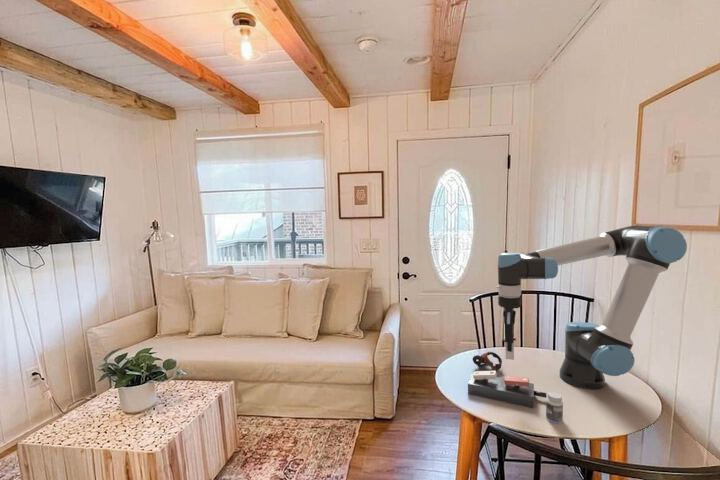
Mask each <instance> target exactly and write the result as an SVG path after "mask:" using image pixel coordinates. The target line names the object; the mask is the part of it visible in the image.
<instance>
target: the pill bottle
mask: <svg viewBox="0 0 720 480" xmlns="http://www.w3.org/2000/svg"><path fill="white" fill-rule="evenodd" d="M545 402H546V403H545V404H546V405H545V406H546V407H545V418H546V420H548V421H549V422H551V423H553V424H562V422H563V416H564V412H563V411H564V403H563V396H562V394H561V393H558V392H556V391H549V392H548V393H547V397H546V401H545Z"/></svg>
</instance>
